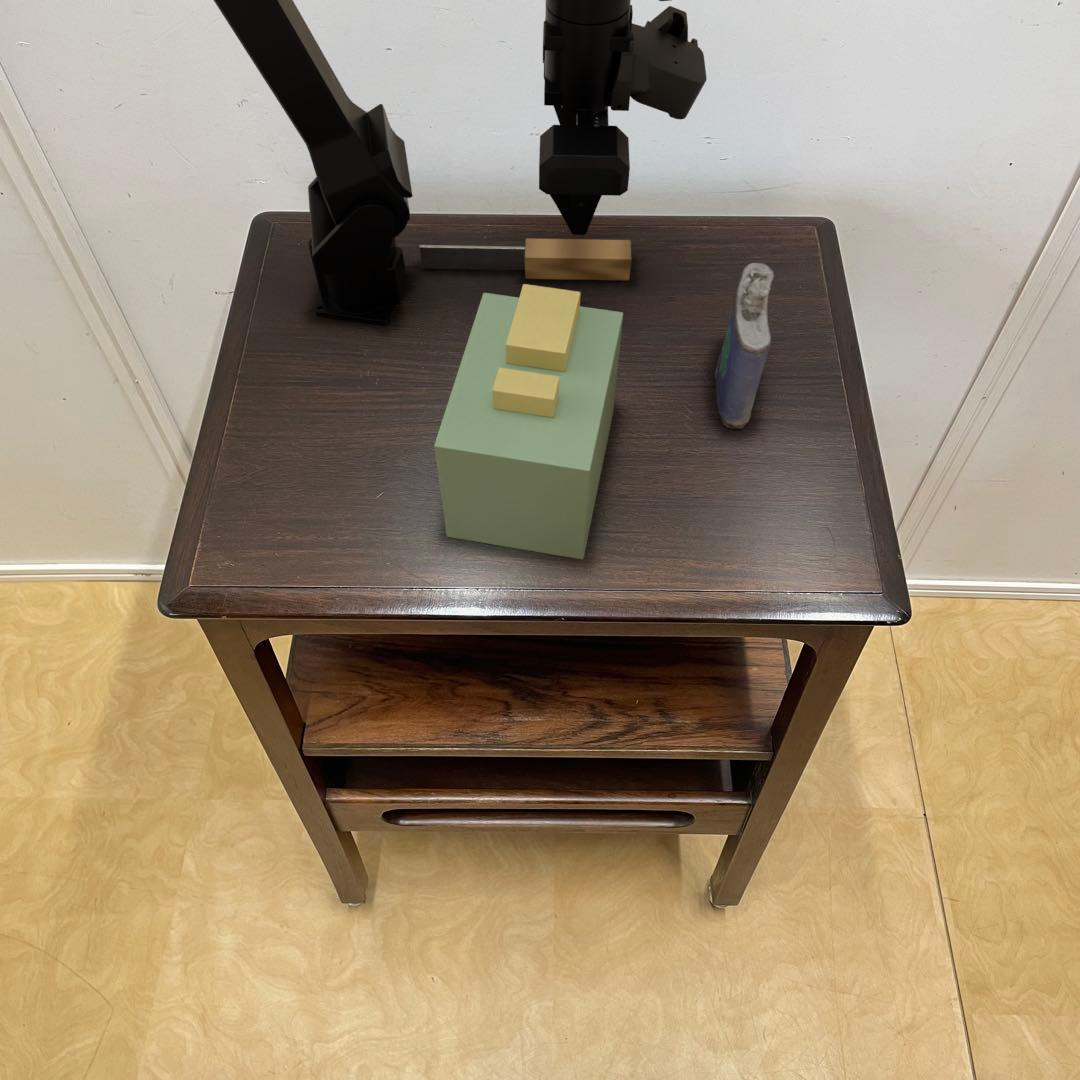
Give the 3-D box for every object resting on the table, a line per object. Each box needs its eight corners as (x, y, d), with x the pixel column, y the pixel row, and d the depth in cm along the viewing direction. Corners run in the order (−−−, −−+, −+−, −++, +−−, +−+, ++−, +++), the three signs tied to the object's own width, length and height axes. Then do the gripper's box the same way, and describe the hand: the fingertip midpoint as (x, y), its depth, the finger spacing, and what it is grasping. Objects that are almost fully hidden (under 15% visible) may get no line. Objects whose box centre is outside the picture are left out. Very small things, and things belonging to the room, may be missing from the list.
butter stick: (506, 363, 67) (505, 344, 65) (523, 302, 70) (523, 283, 68) (564, 372, 66) (565, 353, 65) (579, 310, 69) (580, 291, 68)
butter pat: (492, 408, 64) (491, 390, 63) (499, 385, 66) (498, 367, 64) (553, 418, 64) (554, 399, 63) (559, 394, 65) (559, 376, 64)
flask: (749, 432, 77) (777, 332, 68) (711, 427, 77) (734, 327, 68) (753, 345, 82) (779, 241, 73) (717, 341, 82) (739, 238, 73)
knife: (628, 261, 87) (630, 239, 85) (629, 280, 86) (631, 259, 84) (423, 258, 87) (420, 236, 85) (421, 277, 86) (418, 255, 84)
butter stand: (446, 537, 72) (433, 445, 63) (489, 391, 79) (483, 292, 70) (583, 560, 71) (590, 470, 62) (613, 411, 78) (623, 311, 69)
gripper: (718, 86, 62) (686, 278, 75) (698, -67, 72) (673, 125, 85) (539, 83, 62) (538, 275, 75) (544, -70, 72) (542, 123, 85)
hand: (579, 195), depth 80 cm, fingers open, 9 cm apart
